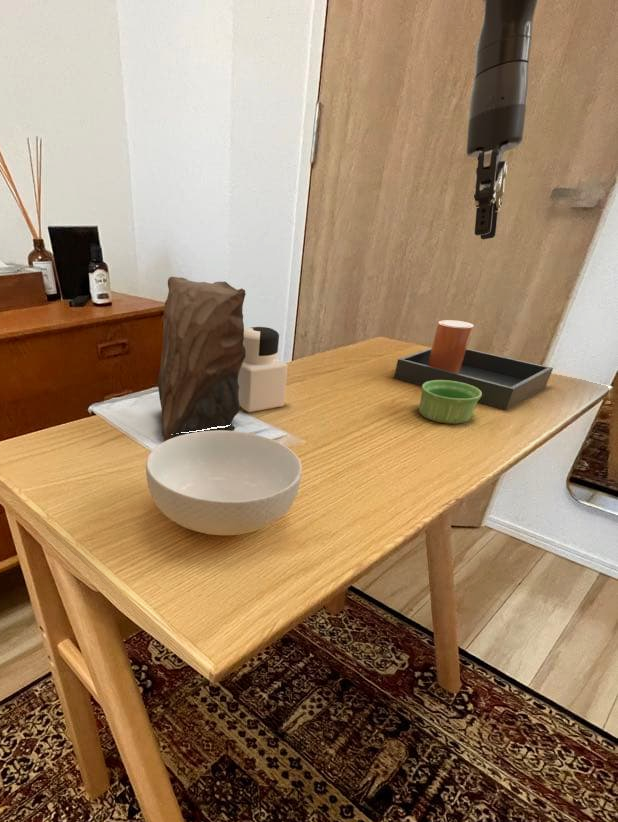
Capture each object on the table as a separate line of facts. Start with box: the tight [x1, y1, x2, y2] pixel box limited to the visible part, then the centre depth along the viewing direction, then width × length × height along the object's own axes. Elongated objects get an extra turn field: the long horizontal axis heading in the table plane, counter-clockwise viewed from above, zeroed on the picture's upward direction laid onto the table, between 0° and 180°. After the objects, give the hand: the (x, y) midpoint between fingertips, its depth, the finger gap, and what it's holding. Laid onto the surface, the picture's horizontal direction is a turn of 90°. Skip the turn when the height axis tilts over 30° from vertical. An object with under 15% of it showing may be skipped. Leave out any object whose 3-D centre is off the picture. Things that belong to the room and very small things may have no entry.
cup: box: [427, 319, 474, 374], centre depth 95 cm, size 6×6×9 cm
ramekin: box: [418, 380, 482, 425], centre depth 80 cm, size 9×9×4 cm
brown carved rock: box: [157, 276, 246, 442], centre depth 72 cm, size 13×13×20 cm
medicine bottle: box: [238, 326, 288, 413], centre depth 81 cm, size 7×7×12 cm
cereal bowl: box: [145, 430, 303, 536], centre depth 55 cm, size 17×17×7 cm
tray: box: [393, 346, 554, 411], centre depth 93 cm, size 18×22×4 cm
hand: (485, 236), depth 80 cm, fingers open, 8 cm apart
